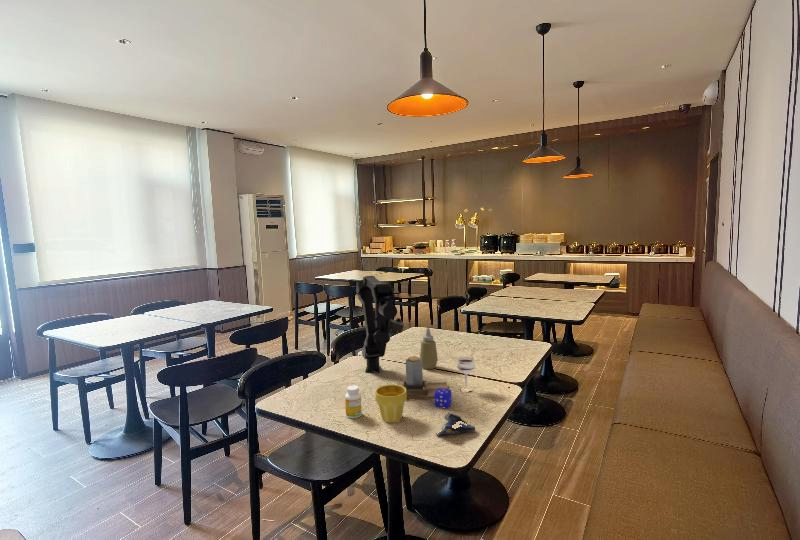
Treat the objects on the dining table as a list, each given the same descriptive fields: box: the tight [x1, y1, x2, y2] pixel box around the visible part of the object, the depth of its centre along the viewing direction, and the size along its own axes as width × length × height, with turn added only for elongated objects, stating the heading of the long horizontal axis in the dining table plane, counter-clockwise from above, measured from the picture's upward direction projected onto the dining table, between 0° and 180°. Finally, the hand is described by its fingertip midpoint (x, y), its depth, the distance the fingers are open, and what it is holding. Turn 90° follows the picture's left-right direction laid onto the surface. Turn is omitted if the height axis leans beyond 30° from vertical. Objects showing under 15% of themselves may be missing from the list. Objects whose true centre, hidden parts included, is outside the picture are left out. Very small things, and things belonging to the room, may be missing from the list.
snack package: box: [434, 412, 476, 437], centre depth 130 cm, size 12×6×12 cm
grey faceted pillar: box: [405, 355, 424, 390], centre depth 159 cm, size 4×4×13 cm
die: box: [434, 388, 453, 409], centre depth 149 cm, size 5×5×5 cm
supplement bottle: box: [344, 385, 363, 419], centre depth 142 cm, size 5×5×10 cm
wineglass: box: [456, 356, 476, 389], centre depth 161 cm, size 7×7×12 cm
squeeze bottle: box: [419, 327, 439, 370], centre depth 188 cm, size 8×8×18 cm
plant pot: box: [374, 384, 407, 423], centre depth 139 cm, size 10×10×10 cm
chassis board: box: [396, 380, 449, 401], centre depth 161 cm, size 14×20×3 cm
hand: (383, 352), depth 170 cm, fingers open, 9 cm apart
